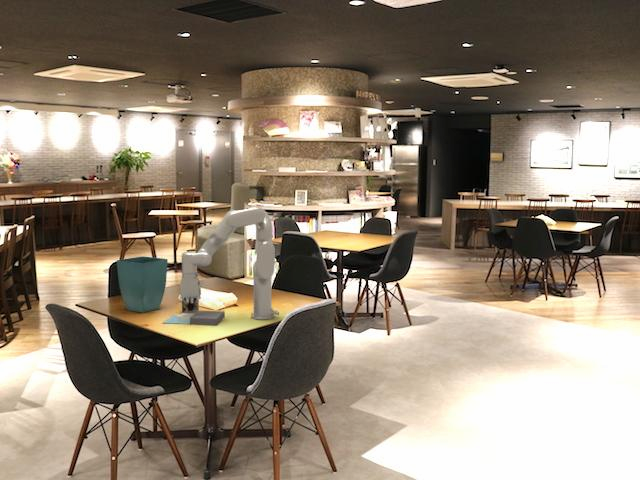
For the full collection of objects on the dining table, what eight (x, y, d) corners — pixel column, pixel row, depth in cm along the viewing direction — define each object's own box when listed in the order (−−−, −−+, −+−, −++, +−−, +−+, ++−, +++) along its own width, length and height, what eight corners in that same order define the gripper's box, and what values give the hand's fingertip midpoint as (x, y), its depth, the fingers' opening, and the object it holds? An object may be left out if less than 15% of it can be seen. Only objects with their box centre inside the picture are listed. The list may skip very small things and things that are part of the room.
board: (224, 317, 337) (224, 311, 336) (216, 325, 321) (216, 318, 320) (199, 316, 338) (199, 310, 338) (189, 324, 322) (189, 317, 322)
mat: (198, 316, 338) (198, 316, 338) (189, 324, 322) (189, 323, 322) (172, 315, 340) (172, 315, 340) (162, 323, 324) (162, 322, 324)
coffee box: (181, 314, 343) (181, 285, 341) (182, 311, 350) (181, 282, 348) (199, 313, 345) (198, 284, 343) (198, 310, 351) (198, 282, 349)
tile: (196, 317, 334) (196, 313, 334) (192, 321, 327) (192, 317, 327) (181, 317, 335) (181, 313, 335) (177, 320, 328) (177, 316, 328)
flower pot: (144, 303, 367) (142, 255, 363) (169, 308, 357) (168, 258, 353) (117, 310, 350) (115, 260, 346) (142, 315, 340) (141, 263, 336)
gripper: (205, 274, 330) (206, 308, 333) (178, 274, 332) (179, 308, 334) (201, 277, 323) (202, 312, 325) (173, 276, 325) (174, 311, 327)
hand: (190, 310), depth 330 cm, fingers closed
